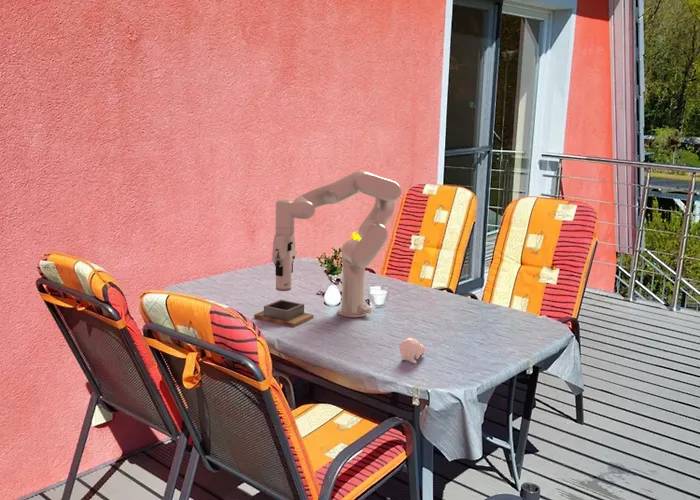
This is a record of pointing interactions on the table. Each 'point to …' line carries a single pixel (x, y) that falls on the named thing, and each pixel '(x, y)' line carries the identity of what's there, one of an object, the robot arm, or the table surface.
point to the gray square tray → (283, 310)
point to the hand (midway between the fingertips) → (284, 273)
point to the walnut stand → (292, 322)
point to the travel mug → (285, 272)
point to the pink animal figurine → (411, 349)
